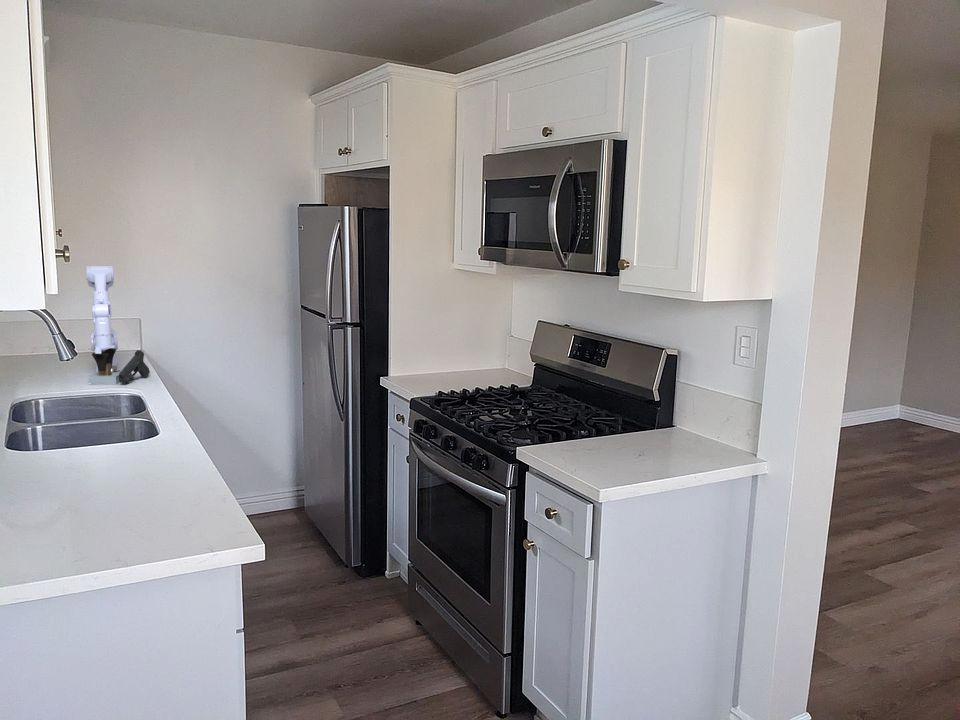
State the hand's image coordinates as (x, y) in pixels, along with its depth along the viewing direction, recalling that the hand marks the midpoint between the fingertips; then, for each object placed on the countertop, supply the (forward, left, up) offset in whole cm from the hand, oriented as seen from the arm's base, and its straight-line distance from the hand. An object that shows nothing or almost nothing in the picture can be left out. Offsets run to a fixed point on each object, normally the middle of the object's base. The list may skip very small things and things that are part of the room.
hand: (105, 369), depth 293 cm
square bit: (0, 0, -5) cm, 5 cm away
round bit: (-7, 0, -5) cm, 9 cm away
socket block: (0, 0, -5) cm, 5 cm away
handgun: (-1, +10, -5) cm, 12 cm away
